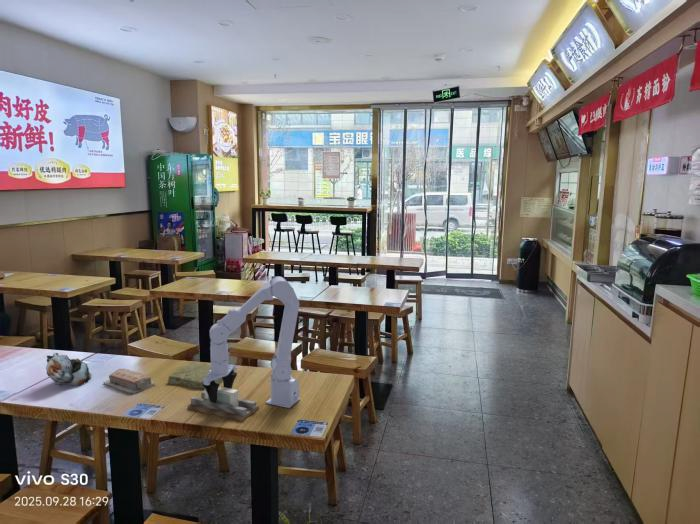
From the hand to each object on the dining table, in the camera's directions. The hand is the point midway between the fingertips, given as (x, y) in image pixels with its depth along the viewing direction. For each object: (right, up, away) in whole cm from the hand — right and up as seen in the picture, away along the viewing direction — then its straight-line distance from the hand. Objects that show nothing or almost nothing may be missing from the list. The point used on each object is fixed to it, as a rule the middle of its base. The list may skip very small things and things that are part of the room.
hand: (220, 397), depth 161 cm
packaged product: (-40, -1, +19) cm, 44 cm away
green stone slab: (-15, 0, +26) cm, 30 cm away
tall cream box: (0, -3, 0) cm, 3 cm away
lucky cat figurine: (-63, 0, +20) cm, 66 cm away
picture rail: (+1, -4, 0) cm, 4 cm away
